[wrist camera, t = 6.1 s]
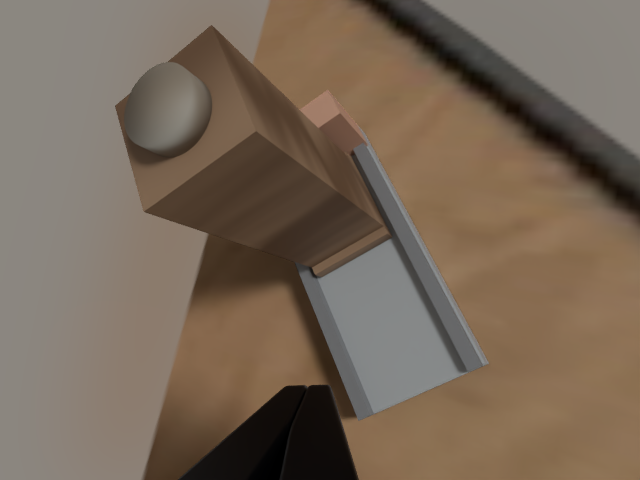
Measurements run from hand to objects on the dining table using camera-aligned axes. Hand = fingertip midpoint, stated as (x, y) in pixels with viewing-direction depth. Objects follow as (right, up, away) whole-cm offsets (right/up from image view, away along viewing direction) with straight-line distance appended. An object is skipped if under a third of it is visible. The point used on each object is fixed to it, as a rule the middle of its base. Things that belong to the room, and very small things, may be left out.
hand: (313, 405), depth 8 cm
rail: (+2, +2, +14) cm, 15 cm away
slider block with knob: (+1, +4, +14) cm, 15 cm away
